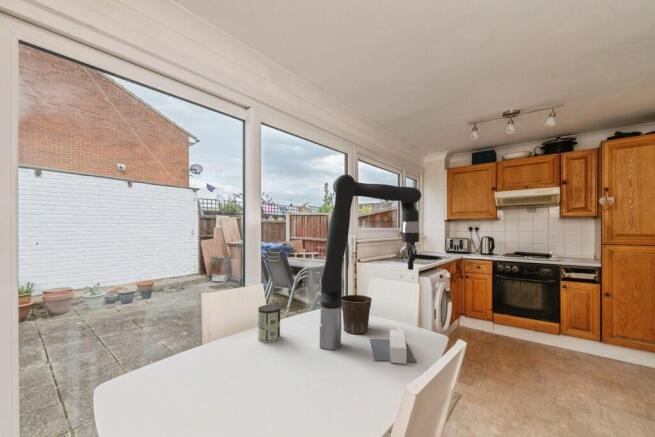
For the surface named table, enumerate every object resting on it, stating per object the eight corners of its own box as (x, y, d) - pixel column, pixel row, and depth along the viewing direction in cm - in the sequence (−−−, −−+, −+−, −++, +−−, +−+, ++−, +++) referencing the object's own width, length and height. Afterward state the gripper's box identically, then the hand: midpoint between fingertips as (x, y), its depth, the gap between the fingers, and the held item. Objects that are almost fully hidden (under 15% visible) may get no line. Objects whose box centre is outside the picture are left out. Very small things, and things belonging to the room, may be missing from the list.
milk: (390, 346, 108) (389, 326, 130) (390, 362, 108) (389, 340, 130) (406, 348, 107) (403, 328, 129) (406, 364, 107) (403, 341, 129)
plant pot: (341, 323, 153) (341, 293, 153) (371, 325, 150) (371, 295, 151) (338, 335, 137) (338, 301, 137) (372, 337, 134) (372, 303, 135)
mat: (375, 361, 110) (375, 359, 110) (369, 339, 131) (369, 338, 131) (416, 362, 109) (416, 361, 109) (404, 341, 130) (404, 339, 130)
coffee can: (268, 332, 139) (269, 303, 139) (284, 336, 133) (285, 306, 134) (252, 339, 130) (253, 308, 130) (269, 344, 125) (269, 312, 125)
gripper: (399, 231, 136) (399, 267, 136) (405, 231, 123) (405, 271, 123) (415, 231, 136) (415, 267, 136) (422, 232, 123) (423, 272, 122)
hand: (410, 269), depth 129 cm, fingers closed
